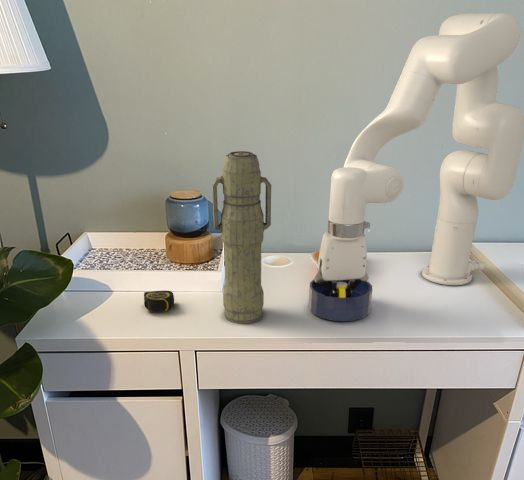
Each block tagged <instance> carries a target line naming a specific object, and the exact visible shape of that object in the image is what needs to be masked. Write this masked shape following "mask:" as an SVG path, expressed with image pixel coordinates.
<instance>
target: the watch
mask: <svg viewBox="0 0 524 480" xmlns="http://www.w3.org/2000/svg"><path fill="white" fill-rule="evenodd" d="M346 288H347V283H345V282H337V288H336V290H337V293H338V298H346V292H345V289H346Z"/></svg>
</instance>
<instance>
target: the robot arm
mask: <svg viewBox="0 0 524 480" xmlns="http://www.w3.org/2000/svg"><path fill="white" fill-rule="evenodd" d="M520 25H521V24H520V22H519V20H518V19H517V17H516V16H514V15H513V14H511V13H508V12H486V13H485V12H484V13H483V12H482V13H480V12H479V13H477V12H476V13H474V12H473V13H460V14H454V15H452V16H449V17H447V18H446V19H445V20H443V22H442V23H441V24H440V27H439V31H438V34H437V35H436V34H435V35H427V36H424V37H421V38H420V39H419V40H417V41H416V42H415V43H414V45H413V46H412V48H411V49H410V51H409V54H408V57H407V59H406V61H405V64H404V66H403V69H402V71H401V72H400V76H399V78H398V80H397V83H396V84H395V86H394V89H393V92H392V94H391V95H390V99H389V102H387V105H386V107H385V109H384V110H383V111H382V112H381V113H379V114H378V115H377V116H375V118H373V119H372V120H371V121H370V123H368V124H367V126H366V127H364V128H363V130H361V132H360V133H359V134H358V135H357V136H356V138H355V139H354V141H353V143H352V145H351V147H350V149H349V152H348V154H347V156H346V159H345V161H344V164H343V167H338V168H336V169H334V170H333V172H332V173H331V175H330V176H331V178H330V188H329V190H330V191H329V206H328V208H329V209H328V220H327V232H326V231H325V232H323V234H322V239H321V243H320V247H319V251H320V253H319V260H318V267H317V273H316V275H315V277H314V278H313V279H314V281H315V282H316V283H317V284H320V285H323V286H325V287H326V288H327V289H328V290H329V296H331V297H338V293H337V290H336V288H337V281H338V280H345V283H347V288H346V289H345V292H346V298H351V293H352V292H353V291H354V289H355V288H356V287H357V286H358V285H359V284H360V283H362V282H364V281H368V280H369V274H368V272H367V266H368V265H367V261H368V249H367V247H368V246H367V237H366V234H365V230H366V229H370V227H371V223H370V222H369V221H365V217H366V216H365V215H366V214H365V213H366V206H367V204H387V203H391V202H393V201H396V199H398V198H399V197H400V195H401V194H402V192H403V190H404V187H405V179H404V176H403V174H402V172H401V171H399V170H398V169H397V168H395V167H393V166H390V165H387V164H386V165H385V164H382V163H378V162H374V161H375V158H376V156H377V155H378V153H379V152H380V150H381V149H382V148H383V147H384V146H385V145H386V144H388V143H389V142H390V141H392V140H393V139H396V138H398V137H400V136H403V135H404V134H407V133H410V132H412V131H414V130H417V129H419V128H421V127H422V126H423V125H424V124H425V123H426V120H427V119H428V115H429V114H430V112H431V109H432V107H433V104H434V102H435V100H436V98H437V97H438V94H439V91H440V89H441V87H442V85H443V84H449V85H456V93H455V101H454V108H453V118H452V125H451V126H452V127H451V131H452V132H451V133H452V138H453V139H454V141H455V142H456V143H458V144H460V145H464V146H469V147H474V148H480V149H485V150H487V151H488V152H487V153H484V152H480V151H474V150H468V149H458V150H454V151H452V152H450V153H448V155H446V157H444V159H443V160H442V162H441V165H440V169H439V201H438V209H437V216H436V222H435V228H434V235H433V240H432V241H433V242H432V246H431V247H432V248H431V253H430V260H429V264H428V265H427V266H424V268H422V270H421V275H422V277H423V278H424V279H425V280H427V281H429V282H432V283H434V284H438V285H444V286H462V285H467V284H469V283H470V282H472V280H473V274H472V272H474V271H484V270H485V269H486V263H485V262H476V260H470V258H471V252H472V247H473V243H474V237H475V232H476V228H477V227H476V226H477V221H478V217H479V203H478V198H481V199H485V200H491V201H498V200H501V199H503V198H505V197H506V196H507V195H508V194H509V193H510V191H511V190H512V188H513V186H514V183H515V180H516V176H517V172H518V168H519V163H520V156H521V151H522V147H523V142H524V114H523V111H522V110H521V109H520V108H519V107H518V106H516V105H515V104H514V105H513V104H510V103H501V102H497V93H498V83H499V71H498V67H497V66H498V65H501V63H503V62H505V61H506V60H507V59H508V58H509V57H510V56H511V55H512V54H513V52H514V51H515V50H516V48H517V46H518V44H519V41H520V37H521V26H520Z"/></svg>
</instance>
